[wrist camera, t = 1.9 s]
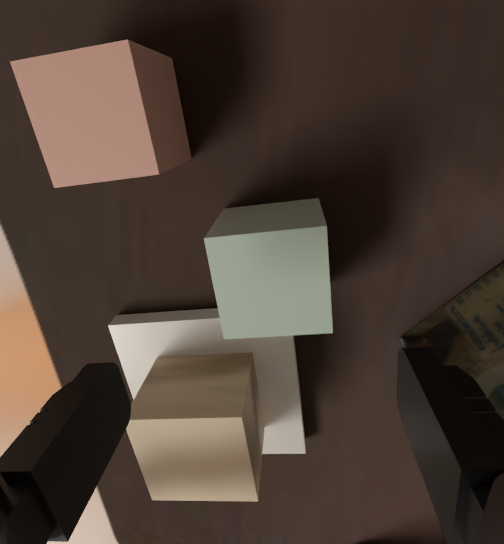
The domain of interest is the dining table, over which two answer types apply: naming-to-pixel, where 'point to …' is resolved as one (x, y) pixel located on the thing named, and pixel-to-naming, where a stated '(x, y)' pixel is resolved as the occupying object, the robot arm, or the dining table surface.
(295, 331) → the sage block
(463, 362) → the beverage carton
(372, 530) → the dining table surface
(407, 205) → the dining table surface
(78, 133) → the coral block
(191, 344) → the pad
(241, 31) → the dining table surface
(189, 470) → the maple block
